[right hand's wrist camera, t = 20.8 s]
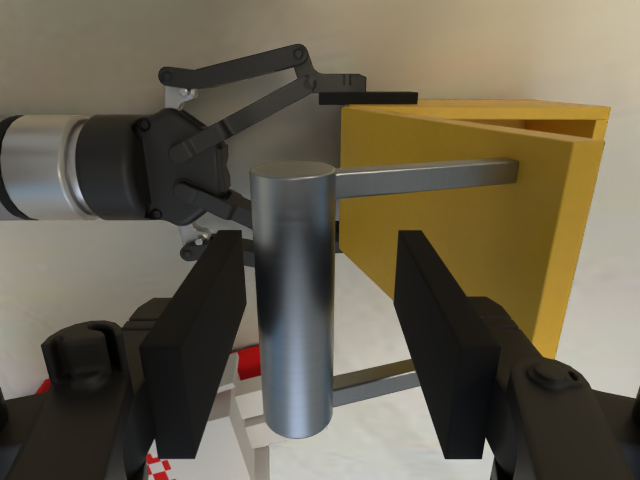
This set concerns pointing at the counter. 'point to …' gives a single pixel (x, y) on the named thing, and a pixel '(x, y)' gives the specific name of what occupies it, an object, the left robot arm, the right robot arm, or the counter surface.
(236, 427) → the toy
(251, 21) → the counter surface
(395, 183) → the yellow block with rod
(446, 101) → the yellow open-ended box
